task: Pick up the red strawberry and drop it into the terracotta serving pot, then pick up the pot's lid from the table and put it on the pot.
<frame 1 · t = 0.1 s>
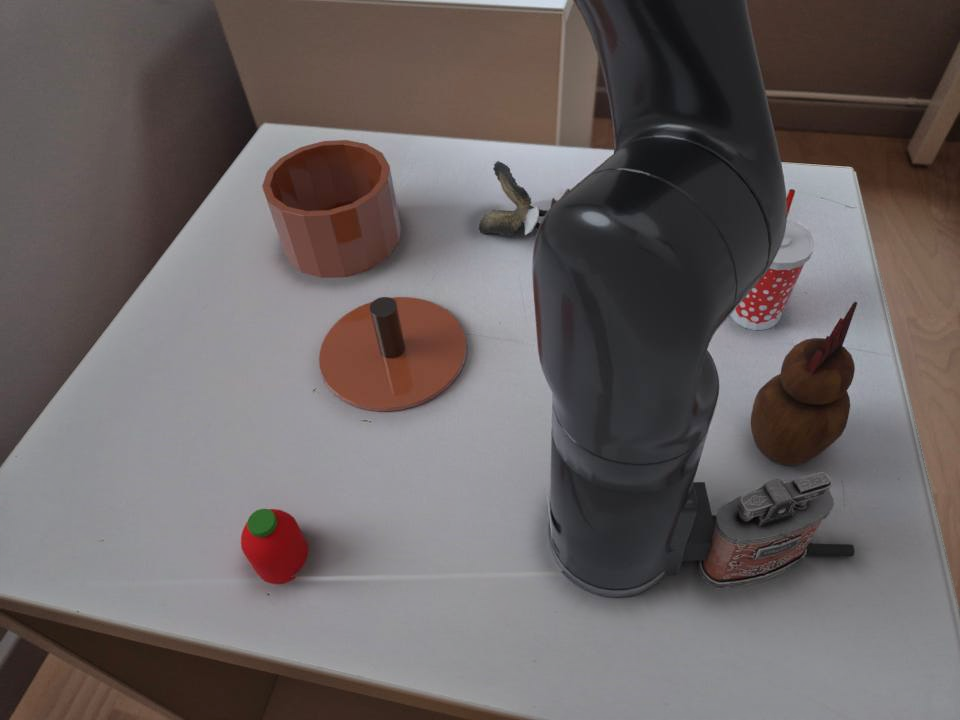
beverage cup: (754, 314, 71), on the table
lighter: (750, 561, 55), on the table
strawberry: (282, 558, 57), on the table
wooden figurine: (784, 446, 61), on the table
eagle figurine: (517, 229, 81), on the table
pot: (343, 241, 81), on the table
lid: (393, 352, 69), point 1 cm above the table
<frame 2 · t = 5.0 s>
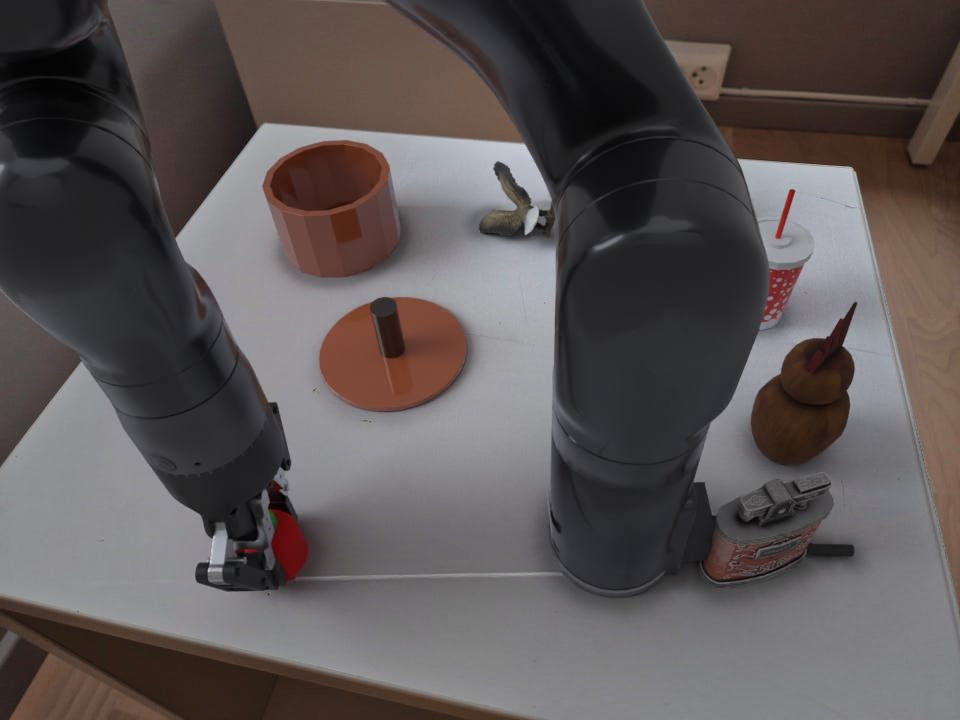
hand: (278, 551, 56), 1 cm above the table, tool pointing down, fingers closed on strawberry, 4 cm apart
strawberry: (282, 558, 57), on the table, touching gripper
everything else where it was.
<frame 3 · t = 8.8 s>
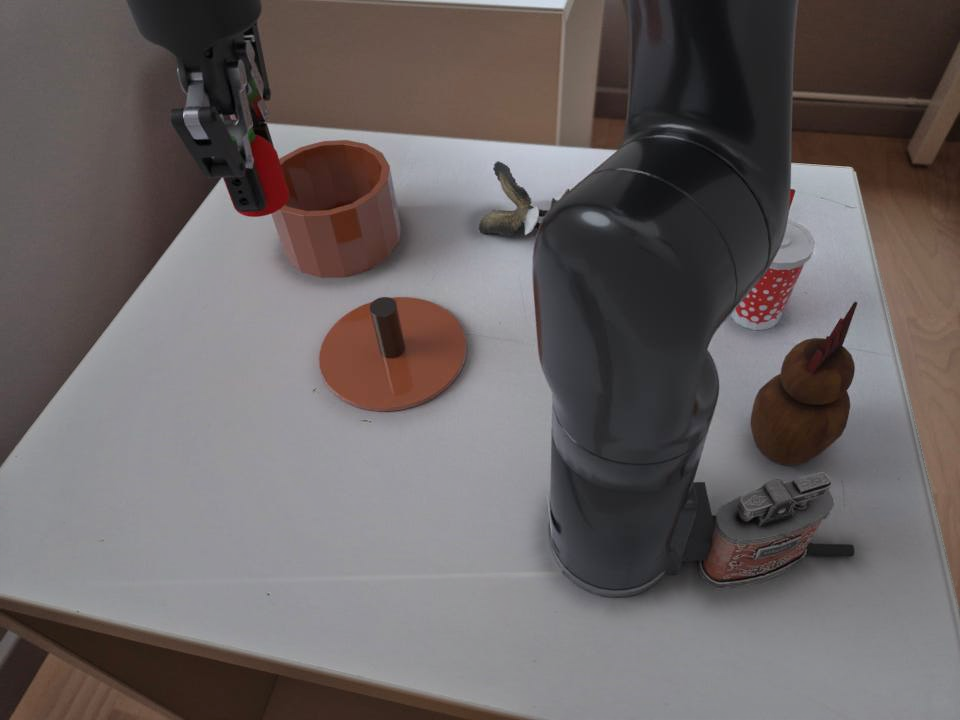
hand: (258, 187, 56), 20 cm above the table, tool pointing down, fingers closed on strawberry, 4 cm apart
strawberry: (261, 199, 56), point 18 cm above the table, touching gripper
everything else where it was.
when the fingers open (9 cm above the table, at t = 12.7 s): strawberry drops 8 cm, resting on pot.
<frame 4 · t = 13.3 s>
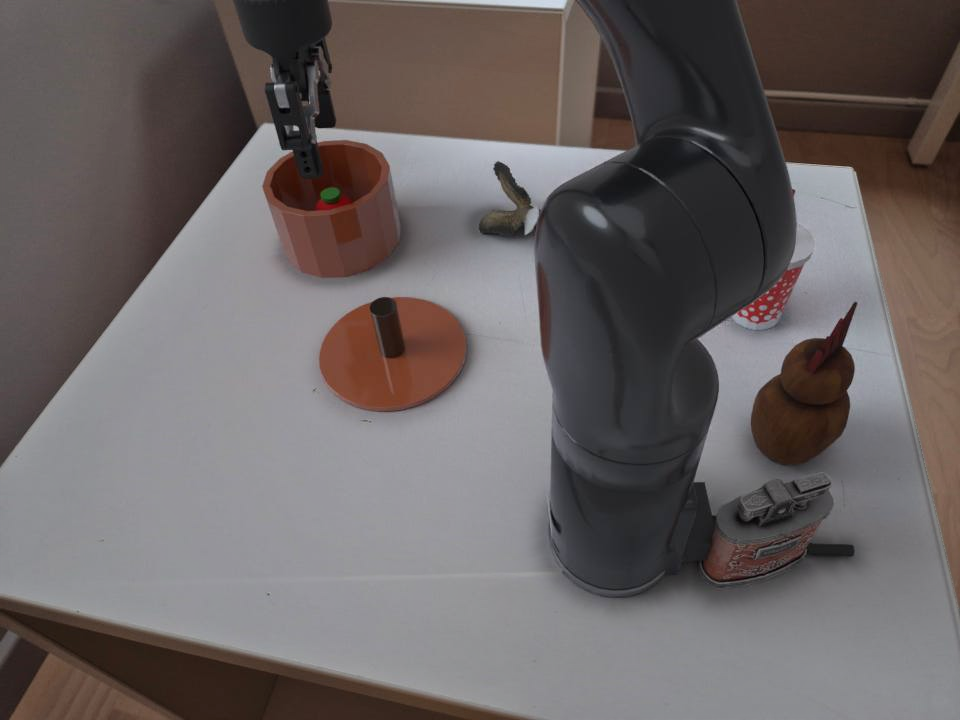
hand: (319, 150, 73), 11 cm above the table, tool pointing down, fingers open, 8 cm apart
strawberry: (341, 236, 81), point 1 cm above the table, touching pot
everything else where it was.
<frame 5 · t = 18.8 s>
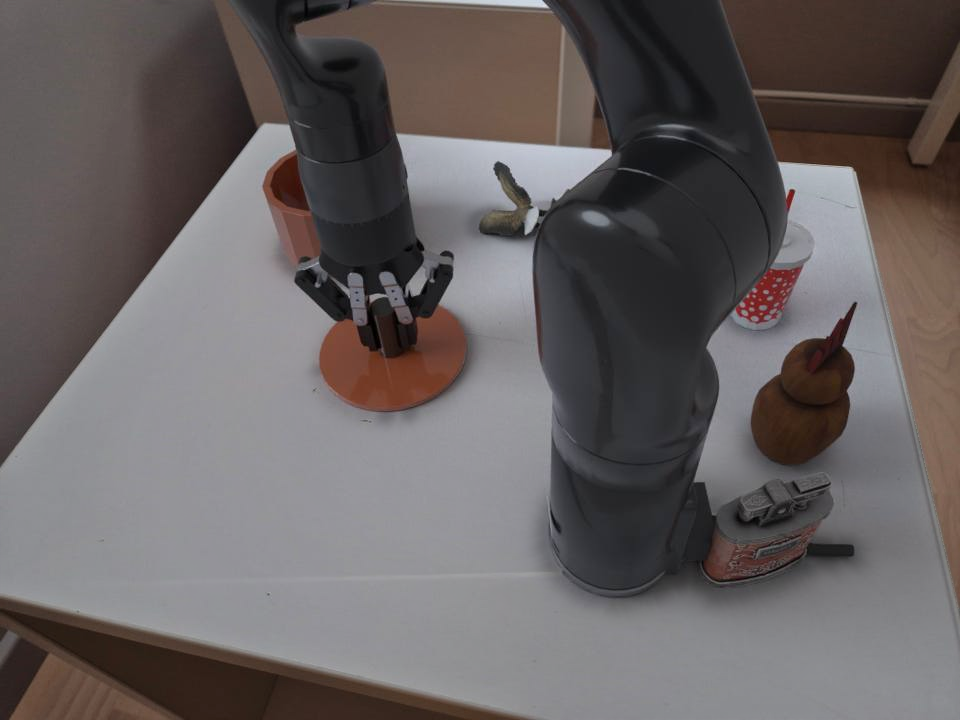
hand: (391, 343, 68), 2 cm above the table, tool pointing down, fingers closed on lid, 2 cm apart
lid: (393, 352, 69), point 1 cm above the table, touching gripper
everything else where it was.
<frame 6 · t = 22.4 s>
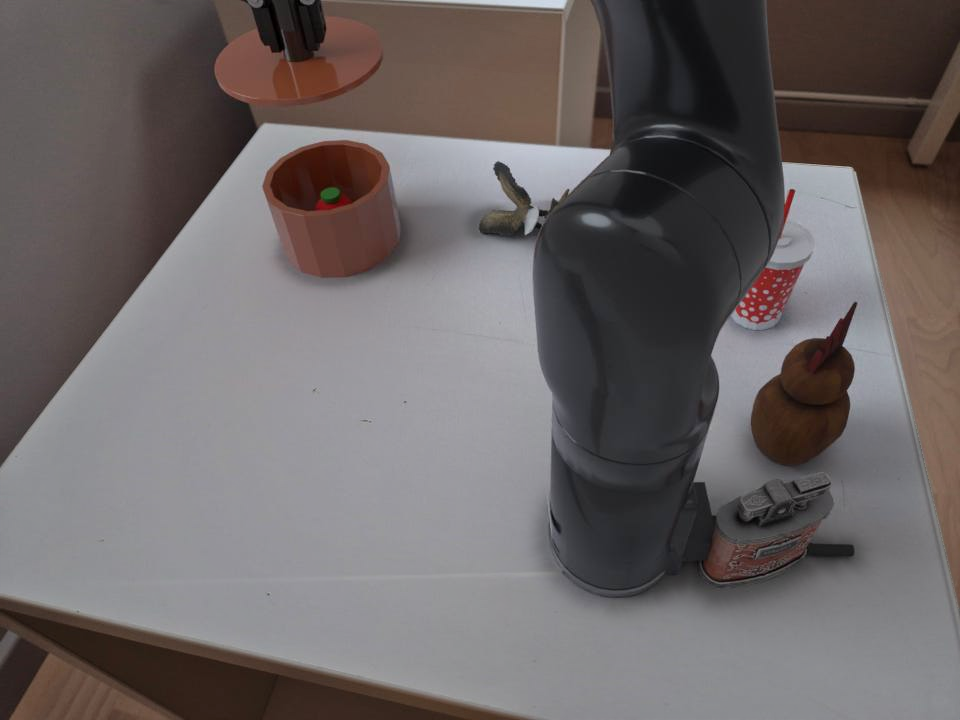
hand: (297, 46, 60), 24 cm above the table, tool pointing down, fingers closed on lid, 2 cm apart
lid: (300, 61, 61), point 23 cm above the table, touching gripper
everything else where it was.
when the fingers open (10 cm above the table, at t = 26.3 s): lid stays where it is, resting on pot.
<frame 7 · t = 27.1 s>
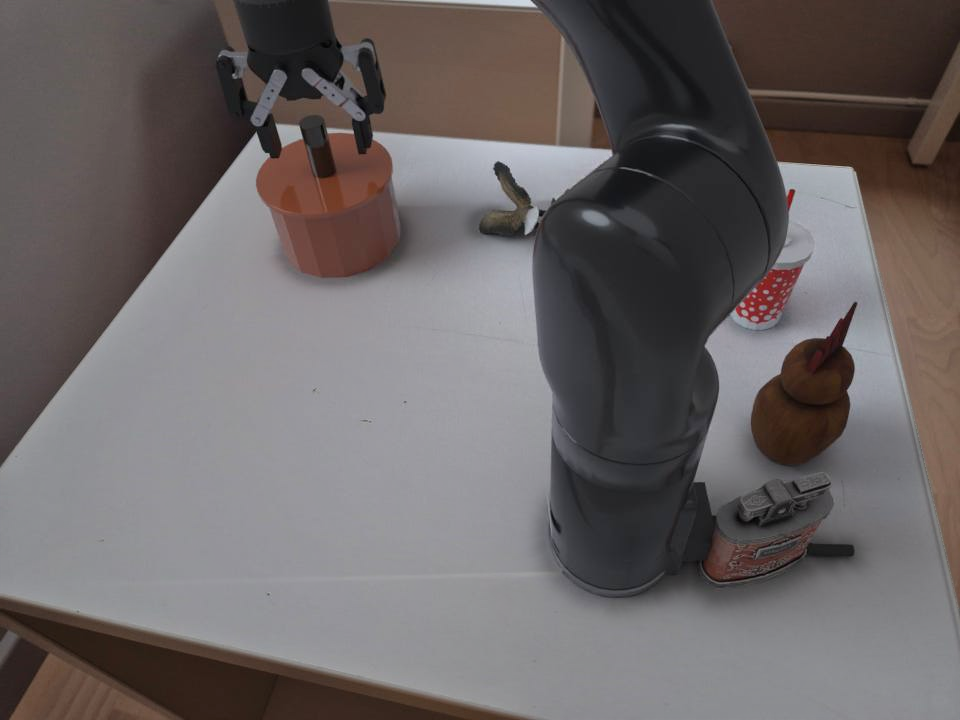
hand: (320, 152, 73), 11 cm above the table, tool pointing down, fingers open, 8 cm apart
lid: (325, 176, 75), point 8 cm above the table, touching pot
everything else where it was.
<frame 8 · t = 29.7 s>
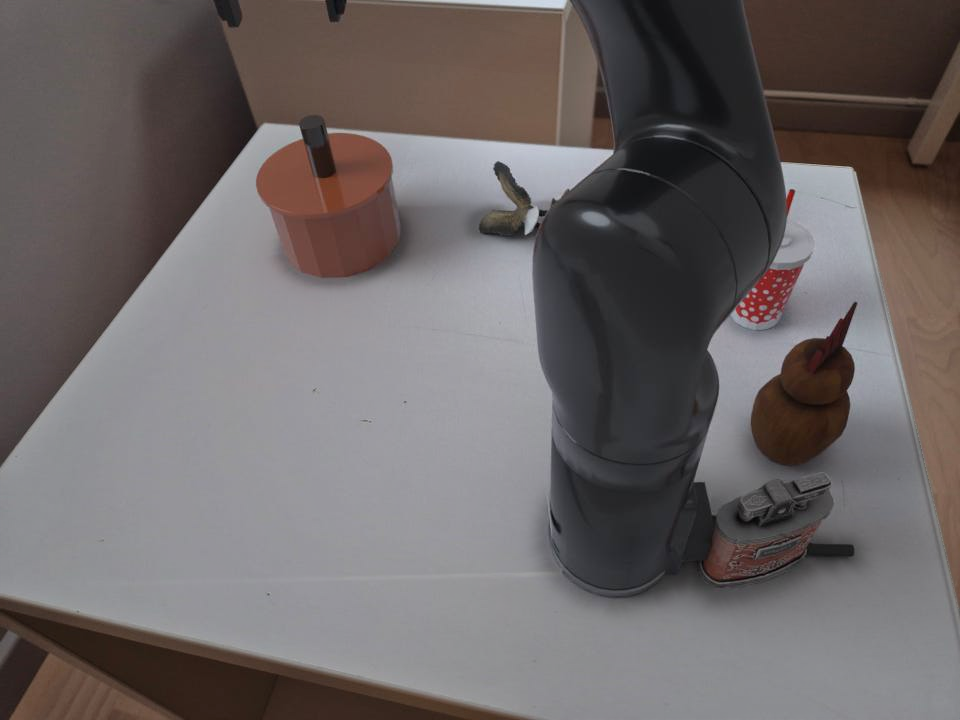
hand: (286, 20, 63), 24 cm above the table, tool pointing down, fingers open, 8 cm apart
nothing on the table moved.
at the end: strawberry inside the target area in the pot (0.1 cm from its centre), point 0.5 cm above the pot's base; lid 0.1 cm off-centre on the pot, point 8.5 cm above the pot's base; lid tilted 0° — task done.
